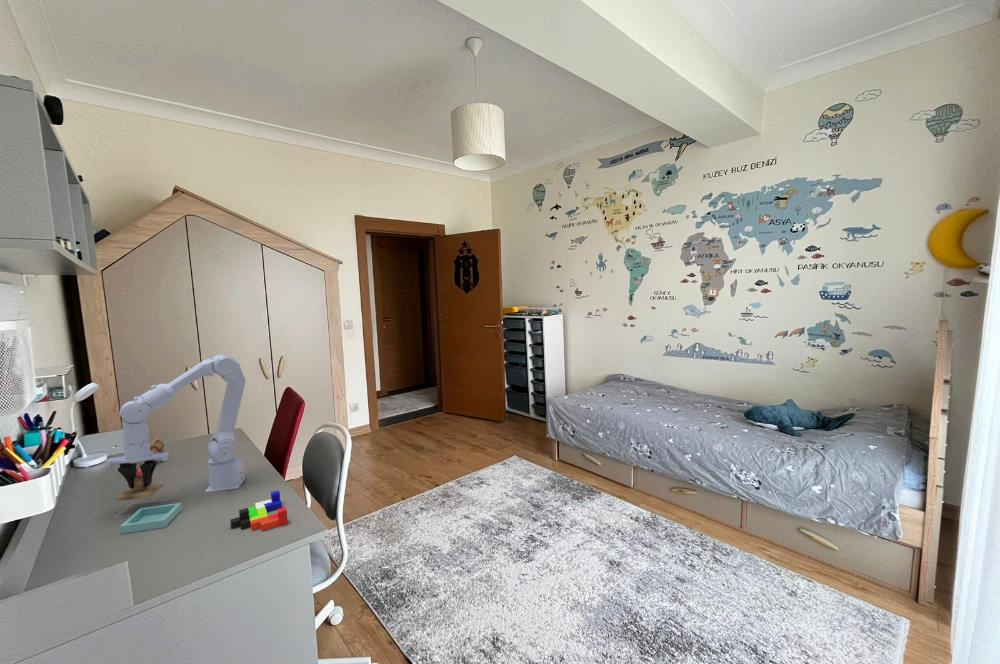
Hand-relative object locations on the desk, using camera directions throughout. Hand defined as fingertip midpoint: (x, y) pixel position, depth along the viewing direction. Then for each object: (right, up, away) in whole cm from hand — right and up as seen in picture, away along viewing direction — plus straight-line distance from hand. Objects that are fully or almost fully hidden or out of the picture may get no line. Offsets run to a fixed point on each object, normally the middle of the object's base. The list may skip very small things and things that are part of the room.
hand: (140, 486), depth 121 cm
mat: (0, -7, 0) cm, 7 cm away
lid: (0, -2, 0) cm, 2 cm away
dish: (+10, -8, -7) cm, 14 cm away
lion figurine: (-26, -5, +32) cm, 42 cm away
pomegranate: (-10, -7, +11) cm, 16 cm away
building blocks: (+39, -8, -6) cm, 40 cm away
